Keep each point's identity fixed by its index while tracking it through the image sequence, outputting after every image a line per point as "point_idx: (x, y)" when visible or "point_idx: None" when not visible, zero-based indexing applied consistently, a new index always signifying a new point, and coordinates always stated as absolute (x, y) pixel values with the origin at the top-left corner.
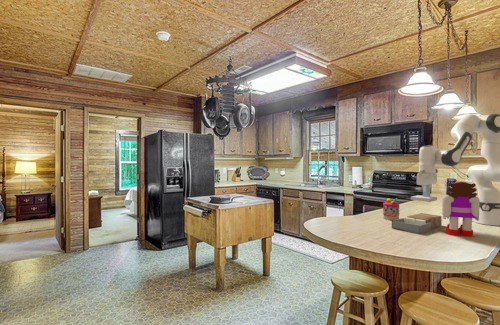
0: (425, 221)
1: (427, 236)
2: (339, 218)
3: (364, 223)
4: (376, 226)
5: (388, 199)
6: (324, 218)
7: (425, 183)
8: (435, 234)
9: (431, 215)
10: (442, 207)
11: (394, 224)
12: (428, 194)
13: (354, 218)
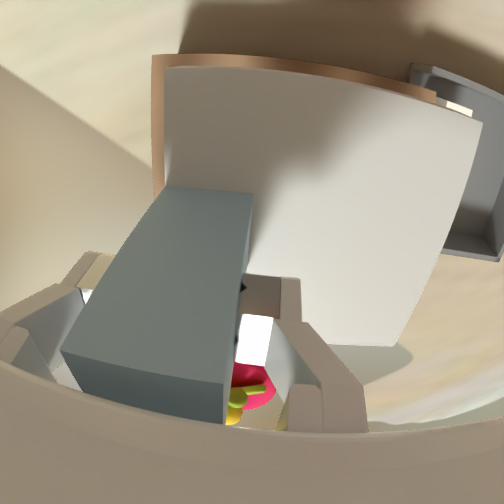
0: (446, 100)
1: None
2: (397, 405)
3: (442, 338)
4: (477, 291)
5: (237, 419)
6: (422, 417)
7: (497, 459)
8: (486, 38)
9: None
10: None
11: (495, 238)
12: (226, 212)
13: (364, 388)
